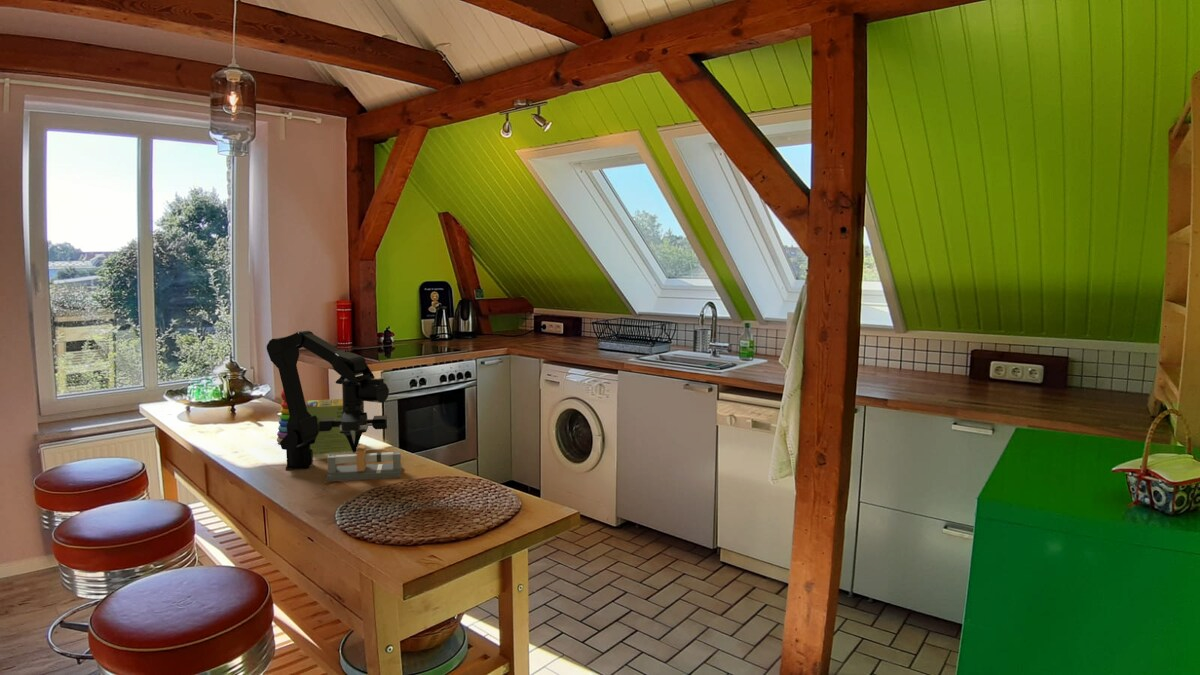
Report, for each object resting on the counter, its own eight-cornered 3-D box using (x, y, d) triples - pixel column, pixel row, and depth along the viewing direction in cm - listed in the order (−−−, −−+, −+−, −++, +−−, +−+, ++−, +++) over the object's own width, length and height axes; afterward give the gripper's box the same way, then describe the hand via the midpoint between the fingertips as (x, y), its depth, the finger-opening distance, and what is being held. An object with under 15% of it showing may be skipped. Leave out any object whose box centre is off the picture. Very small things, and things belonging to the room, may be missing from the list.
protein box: (357, 450, 221) (356, 404, 219) (306, 454, 216) (304, 407, 214) (357, 442, 231) (356, 397, 229) (308, 445, 225) (306, 400, 223)
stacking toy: (292, 445, 225) (290, 390, 222) (271, 444, 226) (269, 389, 224) (307, 439, 232) (305, 385, 230) (287, 437, 234) (284, 384, 231)
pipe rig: (326, 481, 192) (325, 460, 191) (331, 471, 200) (330, 451, 199) (399, 477, 196) (399, 457, 195) (401, 467, 205) (401, 448, 204)
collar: (357, 471, 195) (356, 451, 194) (359, 464, 200) (358, 445, 200) (364, 471, 195) (363, 450, 194) (366, 464, 201) (365, 444, 200)
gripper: (313, 407, 185) (315, 462, 187) (384, 404, 189) (386, 458, 191) (320, 398, 195) (322, 450, 197) (387, 396, 200) (388, 447, 202)
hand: (354, 452), depth 197 cm, fingers closed
